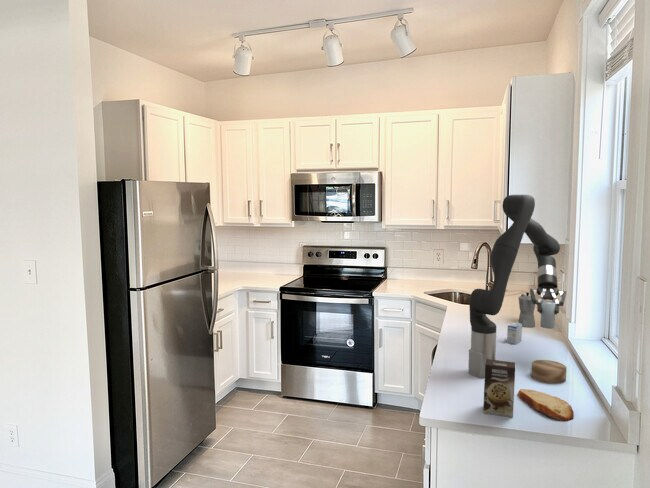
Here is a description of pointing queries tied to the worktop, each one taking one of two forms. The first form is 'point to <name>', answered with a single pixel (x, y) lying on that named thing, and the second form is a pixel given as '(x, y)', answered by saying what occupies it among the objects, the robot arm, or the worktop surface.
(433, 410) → the worktop surface
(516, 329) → the medicine box
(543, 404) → the bread slice
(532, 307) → the coffeepot
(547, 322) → the dome-topped grey cylinder
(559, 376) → the walnut round
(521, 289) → the worktop surface
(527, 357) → the worktop surface
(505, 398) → the coffee box
